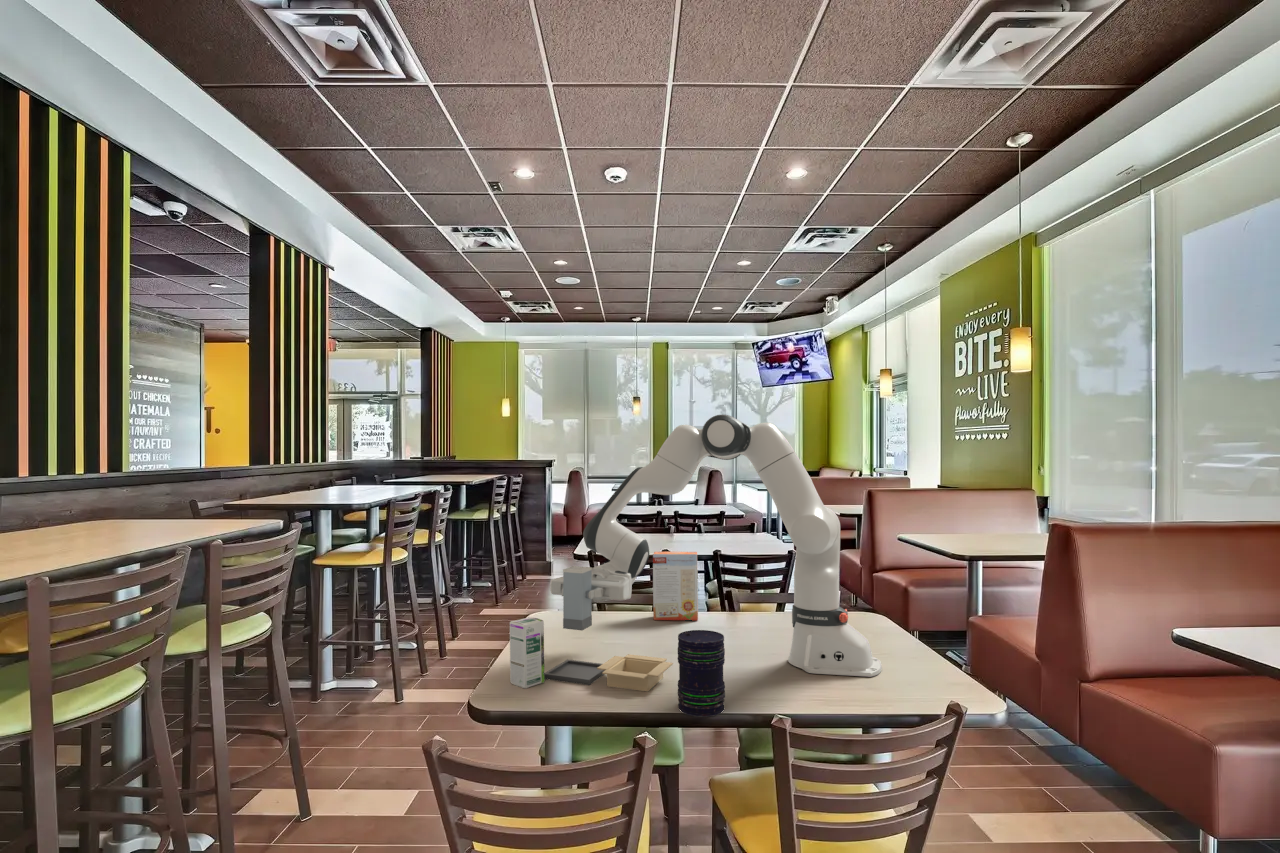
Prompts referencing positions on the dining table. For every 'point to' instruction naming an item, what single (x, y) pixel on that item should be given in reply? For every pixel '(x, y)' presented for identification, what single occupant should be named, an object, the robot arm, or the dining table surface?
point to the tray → (575, 672)
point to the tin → (576, 598)
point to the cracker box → (675, 586)
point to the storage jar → (701, 673)
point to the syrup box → (527, 652)
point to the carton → (634, 671)
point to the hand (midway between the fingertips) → (575, 594)
